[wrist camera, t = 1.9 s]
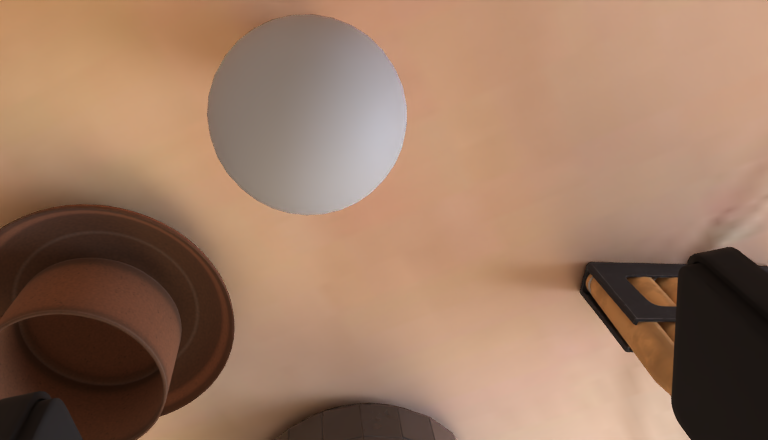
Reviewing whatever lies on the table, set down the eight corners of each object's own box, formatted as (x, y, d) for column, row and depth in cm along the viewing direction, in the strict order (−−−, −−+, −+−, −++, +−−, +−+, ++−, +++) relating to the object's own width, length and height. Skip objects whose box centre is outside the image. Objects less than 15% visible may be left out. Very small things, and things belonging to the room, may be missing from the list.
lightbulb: (233, 125, 28) (198, 248, 18) (230, -23, 25) (188, 27, 16) (372, 132, 29) (410, 252, 19) (384, -12, 26) (434, 44, 17)
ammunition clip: (577, 292, 34) (703, 471, 24) (586, 262, 33) (719, 433, 23) (760, 295, 36) (954, 464, 25) (771, 266, 35) (978, 428, 24)
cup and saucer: (24, 411, 34) (-30, 512, 28) (-66, 205, 28) (-155, 280, 23) (256, 381, 34) (247, 473, 29) (212, 174, 29) (191, 239, 23)
